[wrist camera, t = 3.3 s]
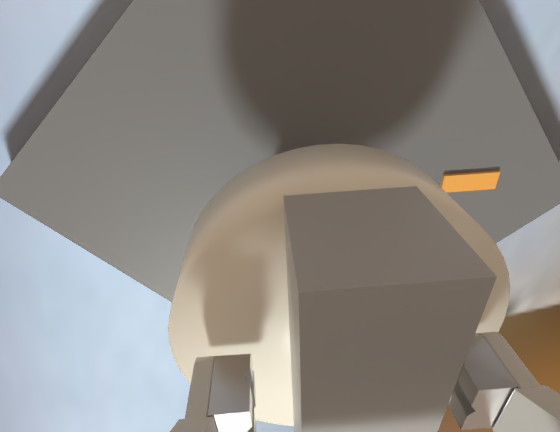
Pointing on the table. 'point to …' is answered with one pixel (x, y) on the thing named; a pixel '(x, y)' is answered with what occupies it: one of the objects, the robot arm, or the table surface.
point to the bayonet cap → (339, 289)
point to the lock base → (275, 117)
